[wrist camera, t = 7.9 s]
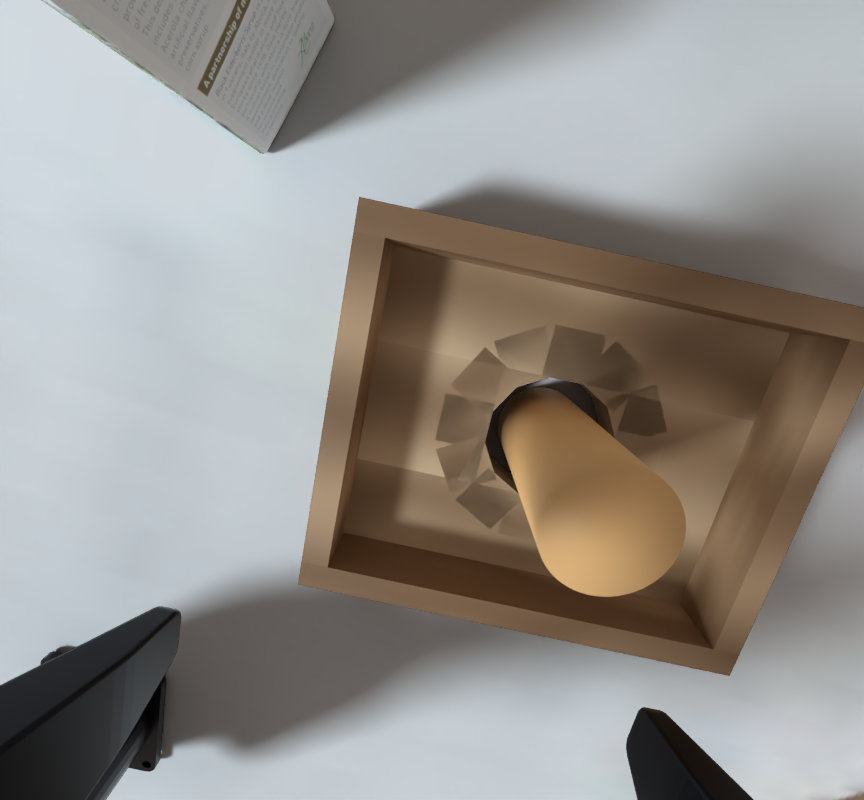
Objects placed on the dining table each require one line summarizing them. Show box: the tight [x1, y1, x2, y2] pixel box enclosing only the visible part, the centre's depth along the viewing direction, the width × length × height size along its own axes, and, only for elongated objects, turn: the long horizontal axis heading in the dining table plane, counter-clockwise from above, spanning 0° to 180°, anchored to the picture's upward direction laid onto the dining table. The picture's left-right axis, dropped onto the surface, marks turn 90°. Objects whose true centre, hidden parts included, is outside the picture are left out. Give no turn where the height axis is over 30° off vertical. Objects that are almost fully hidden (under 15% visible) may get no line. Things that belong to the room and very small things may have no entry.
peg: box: [498, 387, 686, 597], centre depth 15 cm, size 4×4×9 cm
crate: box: [298, 197, 864, 676], centre depth 17 cm, size 14×17×4 cm
